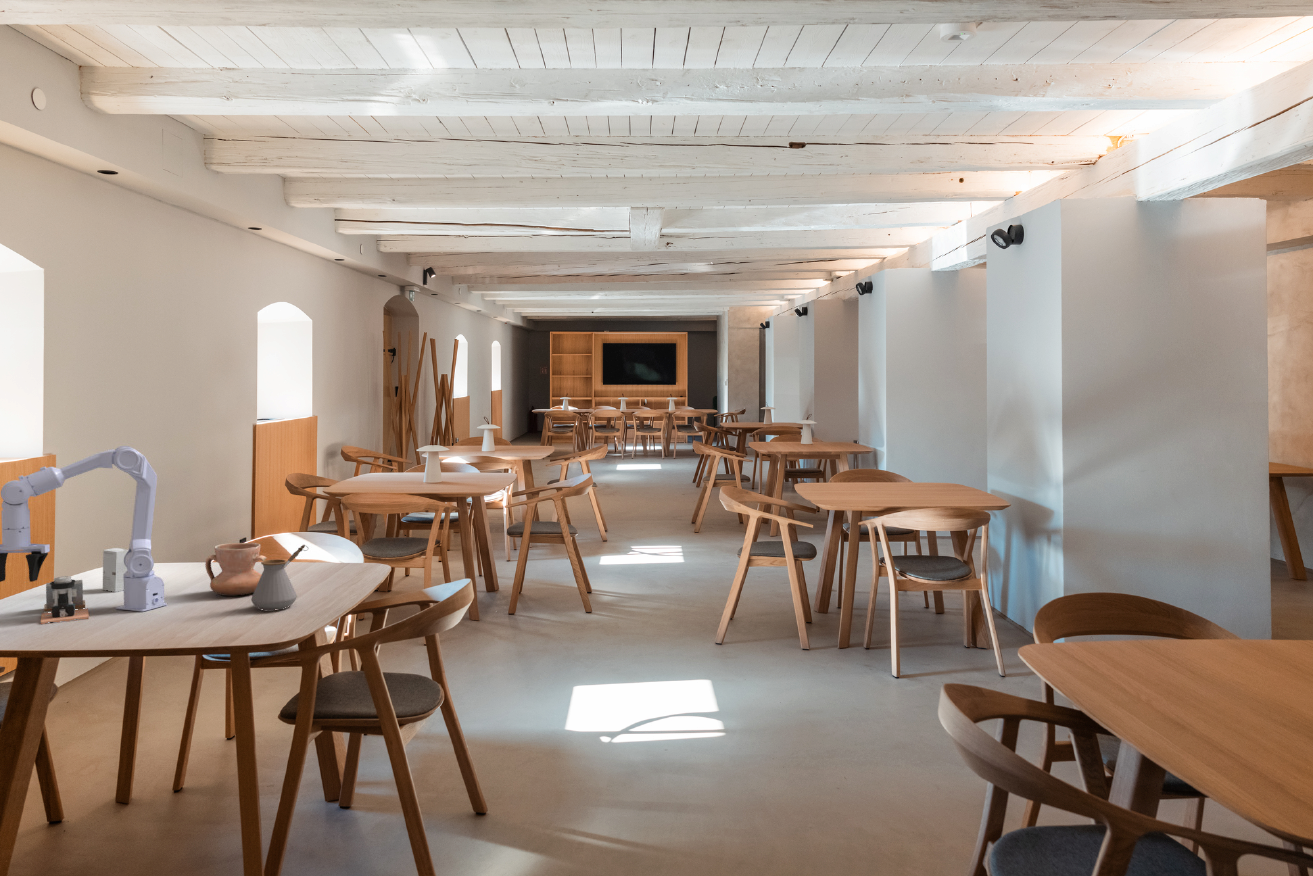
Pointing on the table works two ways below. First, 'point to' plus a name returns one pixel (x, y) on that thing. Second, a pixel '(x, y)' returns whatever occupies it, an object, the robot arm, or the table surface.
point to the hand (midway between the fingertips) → (17, 581)
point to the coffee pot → (275, 585)
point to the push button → (62, 597)
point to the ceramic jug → (235, 568)
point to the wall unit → (75, 592)
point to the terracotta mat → (78, 615)
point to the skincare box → (114, 569)
